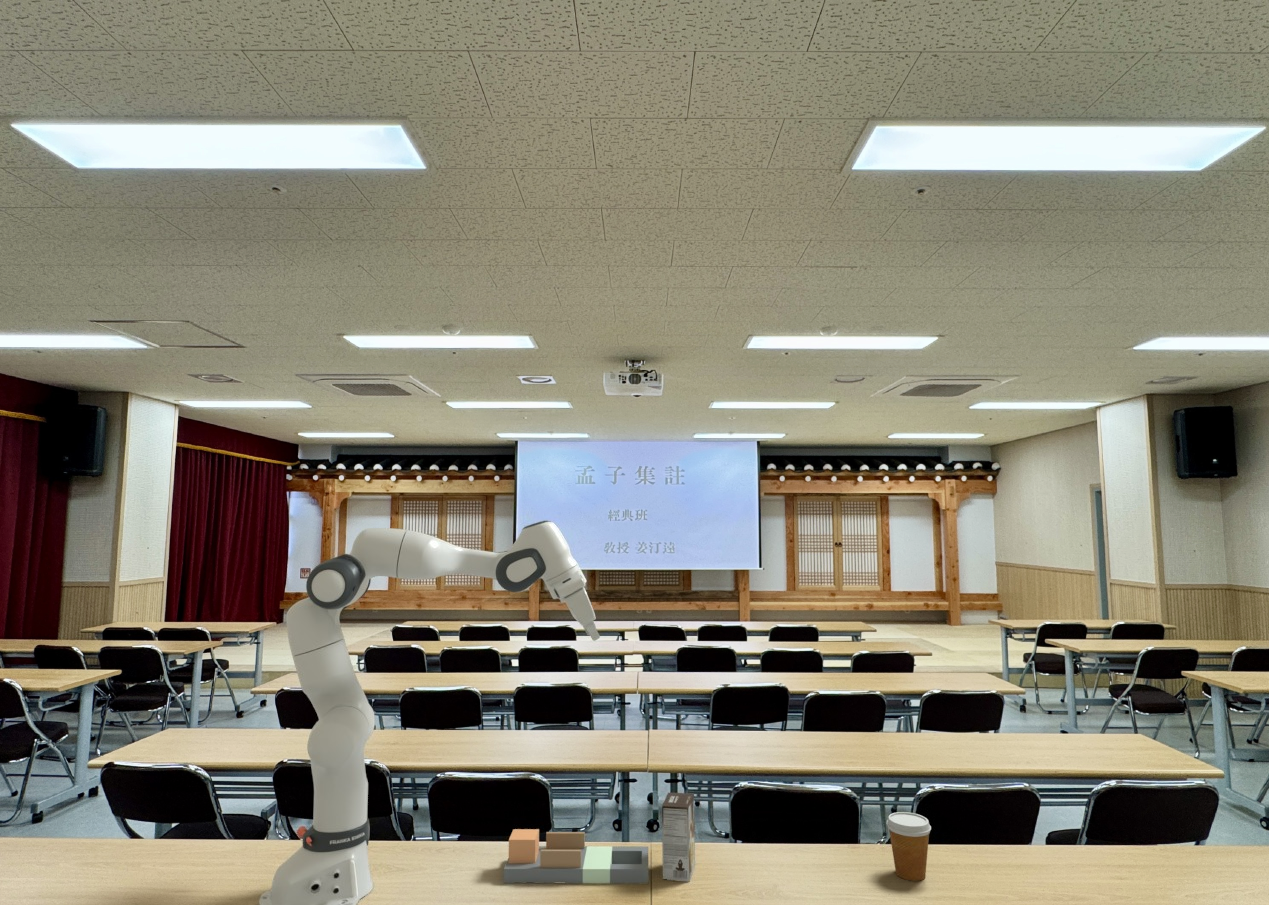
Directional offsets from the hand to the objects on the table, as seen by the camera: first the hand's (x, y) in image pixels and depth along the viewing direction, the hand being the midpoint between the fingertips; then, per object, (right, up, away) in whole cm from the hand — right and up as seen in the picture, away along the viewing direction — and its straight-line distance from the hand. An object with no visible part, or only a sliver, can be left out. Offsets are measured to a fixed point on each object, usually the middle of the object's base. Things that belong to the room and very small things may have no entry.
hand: (594, 636), depth 177 cm
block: (-16, -50, -3) cm, 52 cm away
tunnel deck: (-3, -53, -3) cm, 53 cm away
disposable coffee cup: (+72, -52, -6) cm, 89 cm away
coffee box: (+20, -53, -4) cm, 56 cm away
